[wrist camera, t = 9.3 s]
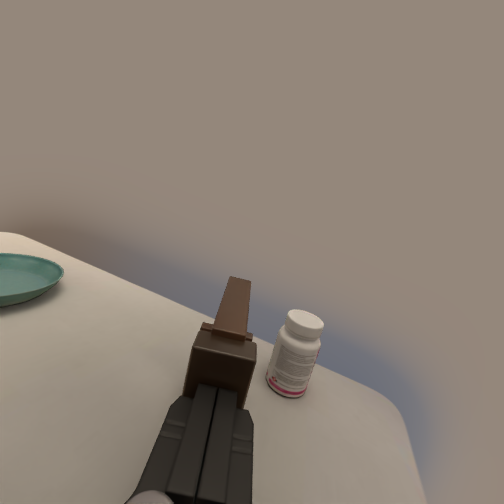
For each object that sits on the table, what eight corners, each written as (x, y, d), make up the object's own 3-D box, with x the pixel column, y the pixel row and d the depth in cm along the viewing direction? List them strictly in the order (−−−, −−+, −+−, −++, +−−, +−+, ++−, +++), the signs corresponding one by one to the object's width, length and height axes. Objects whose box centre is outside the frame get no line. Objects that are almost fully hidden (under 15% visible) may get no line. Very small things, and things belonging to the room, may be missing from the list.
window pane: (217, 441, 19) (259, 282, 16) (193, 589, 12) (258, 353, 9) (186, 434, 19) (222, 273, 16) (143, 578, 12) (193, 338, 9)
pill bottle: (313, 398, 29) (336, 331, 27) (274, 400, 27) (296, 329, 25) (294, 368, 33) (313, 309, 31) (260, 368, 31) (277, 306, 29)
